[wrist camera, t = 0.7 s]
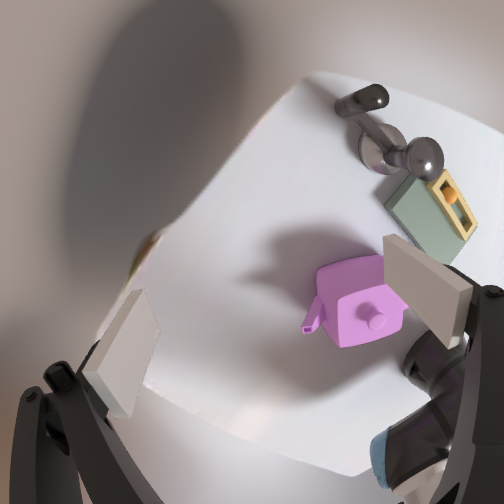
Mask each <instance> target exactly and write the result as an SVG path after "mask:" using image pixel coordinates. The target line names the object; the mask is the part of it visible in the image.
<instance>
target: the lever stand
mask: <svg viewBox="0 0 504 504" xmlns="http://www.w3.org/2000/svg"><path fill="white" fill-rule="evenodd" d="M384 207H385V208H386V210H387V211H388V212H389V213H390V214H391V215H392V217H393V218H394V219H395V220H396V221H397V222H398V224H399V225H400V226H401V227H402V228H403V230H404V231H405V232H406V233H407V235H408V236H409V237H410V238H411V240H412V241H413V242H414V243H415V245H416V246H417V247H418V249H420V250H421V251H423V252H424V253H426V254H427V255H429V256H431V257H432V258H434V259H435V260H437V261H438V262H440V263H441V264H446V265H450V264H451V262H452V261H453V260H454V258H455V257H456V256H457V254H458V253H459V252H460V250H461V249H462V248H463V246H464V245H465V244H466V242H467V241H468V240H469V238H470V237H471V235H472V234H473V232H474V231H475V230H476V228H477V224H478V223H477V221H476V219H475V217H474V215H473V213H472V211H471V210H470V208H469V206H468V204H467V202H466V201H465V199H464V197H463V195H462V194H461V192H460V190H459V189H458V187H457V185H456V184H455V182H454V180H453V179H452V177H451V176H450V174H449V173H448V171H447V170H446V169H443V170H442V173H441V174H440V176H439V177H438V178H437V179H436V180H434V181H431V182H426V181H422V180H418V179H416V178H414V177H413V176H412V175H411V174H410V175H409V176H408V177H407V178H406V180H405V181H404V182H403V183H402V185H401V186H400V187H399V188H398V190H397V191H396V192H395V193H394V194H393V196H392V197H391V198H390V199H389V200H388V202H387V203H386V204H385V205H384Z"/></svg>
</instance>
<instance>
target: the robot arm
mask: <svg viewBox="0 0 504 504" xmlns="http://www.w3.org/2000/svg"><path fill="white" fill-rule="evenodd" d="M383 252H384V282H385V283H386V284H387V285H388V286H389V287H390V288H391V289H392V290H393V291H394V292H395V293H396V294H397V295H398V296H399V297H400V298H401V299H402V300H403V301H404V302H405V303H406V304H407V305H408V306H409V307H410V308H411V309H412V310H413V312H414V313H415V314H416V315H417V316H418V317H419V318H420V319H421V320H422V321H423V322H424V323H425V324H426V325H427V326H428V327H429V329H430V330H429V331H428V332H427V333H425V334H424V335H423V336H422V337H421V338H420V339H419V340H418V341H417V342H416V343H415V344H414V346H413V347H412V348H411V350H410V351H409V353H408V355H407V357H406V360H405V363H404V373H405V375H406V377H407V378H408V380H409V381H410V382H411V383H412V384H414V385H415V386H417V387H418V388H420V389H421V390H423V391H424V392H426V393H427V394H428V395H429V396H430V397H431V399H432V400H431V401H429V402H428V403H426V404H425V405H424V406H422V407H421V408H419V409H418V410H416V411H415V412H413V413H412V414H410V415H409V416H407V417H405V418H404V419H402V420H401V421H399V422H397V423H396V424H394V425H392V426H389V427H388V428H387V429H386V430H385V431H383V432H382V433H380V434H378V435H377V436H375V437H374V438H373V440H372V442H371V445H370V458H371V463H372V467H373V470H374V474H375V476H376V477H377V481H378V483H379V485H380V486H381V487H382V488H383V489H390V488H391V490H392V492H393V494H395V495H399V496H403V497H404V498H405V500H406V503H407V504H504V290H503V289H502V288H500V287H498V286H494V285H486V286H483V287H482V286H480V285H479V284H477V283H476V282H475V281H473V280H472V279H470V278H469V277H467V276H465V274H463V273H462V272H461V273H460V271H459V270H457V269H456V268H454V267H452V266H449V265H446V264H441V263H440V262H438V261H437V260H435V259H434V258H432V257H431V256H429V255H427V254H426V253H424V252H423V251H421V250H420V249H418V248H417V247H415V246H413V245H412V244H410V243H409V242H407V241H405V240H404V239H402V238H401V237H399V236H397V235H396V234H392V235H387V236H383ZM464 331H465V332H466V333H467V334H468V335H469V340H468V343H466V340H465V338H464ZM160 332H161V329H160V327H159V324H158V322H157V320H156V317H155V315H154V313H153V310H152V308H151V305H150V303H149V301H148V298H147V295H146V293H145V290H144V289H140V290H135V291H132V292H131V293H130V295H129V296H128V298H127V299H126V301H125V302H124V304H123V305H122V307H121V308H120V310H119V311H118V313H117V314H116V316H115V317H114V319H113V321H112V322H111V324H110V325H109V327H108V329H107V330H106V332H105V333H104V335H103V337H102V338H101V340H98V341H97V342H96V343H95V344H94V345H93V346H92V347H91V349H90V350H89V352H88V355H87V356H86V357H85V360H84V361H83V362H82V364H81V365H80V367H79V369H78V370H77V372H76V374H75V373H74V372H73V370H72V368H71V367H70V365H69V364H68V363H67V362H66V361H59V362H56V363H54V364H52V365H51V366H49V368H48V369H46V371H45V373H44V375H43V378H44V380H45V381H46V382H47V384H48V385H49V387H50V388H51V390H52V391H53V393H49V394H44V392H43V391H42V390H41V388H40V387H38V386H35V387H31V388H28V389H27V390H25V391H24V393H23V395H22V396H21V398H20V403H19V407H18V413H17V418H16V424H15V430H14V438H13V446H12V455H11V467H10V491H9V492H10V493H9V494H10V497H9V498H10V500H9V501H10V504H83V501H82V495H81V489H80V483H79V476H78V472H79V474H80V476H81V479H82V481H83V484H84V486H85V488H86V490H87V492H88V495H89V497H90V499H91V501H92V503H93V504H164V503H163V501H162V500H161V499H160V498H159V496H158V495H157V494H156V492H155V491H154V490H153V488H152V487H151V486H150V484H149V483H148V481H147V480H146V479H145V477H144V476H143V475H142V473H141V471H140V470H139V468H138V467H137V465H136V464H135V462H134V461H133V459H132V458H131V456H130V455H129V453H128V451H127V450H126V448H125V446H124V445H123V443H122V442H121V440H120V438H119V436H118V435H117V433H116V431H115V429H114V428H113V426H112V424H111V422H110V421H109V419H108V418H107V417H106V415H107V413H108V410H109V411H110V412H111V413H112V415H113V416H114V417H115V418H116V419H130V418H131V416H132V412H133V409H134V407H135V403H136V400H137V397H138V394H139V391H140V388H141V385H142V382H143V379H144V376H145V373H146V371H147V368H148V365H149V362H150V359H151V356H152V353H153V351H154V348H155V345H156V342H157V340H158V337H159V334H160ZM47 435H48V436H47ZM398 504H404V502H401V503H398Z"/></svg>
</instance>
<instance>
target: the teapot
mask: <svg viewBox="0 0 504 504" xmlns="http://www.w3.org/2000/svg"><path fill="white" fill-rule="evenodd" d="M316 286H317V295H316V296H315V298H314V300H313V302H312V305H311V307H310V309H309V311H308V313H307V315H306V317H305V320H304V322H303V324H302V326H301V328H302V334H307V333H314V331H315V329H316V328H317V327H318V326H319V325H320V324H322V326H323V328H324V330H325V331H326V333H327V334H328V336H329V337H330V338H331V339H332V341H333V342H334V343H335V344H336V345H337V346H338V347H340V348H345V347H351V346H356V345H360V344H364V343H368V342H372V341H375V340H378V339H380V338H383V337H386V336H388V335H391V334H393V333H395V332H397V331H399V330H400V329H401V327H402V321H403V312H404V310H405V309H408V308H410V307H409V306H408V305H407V304H406V303H405V302H404V301H403V300H402V299H401V298H400V297H399V296H398V295H397V294H396V293H395V292H394V291H393V290H392V289H391V288H390V287H389V286H388V285H387V284H386V283H385V282H384V257H383V256H380V255H369V256H362V257H355V258H350V259H346V260H342V261H339V262H335V263H332V264H329V265H326V266H323V267H321V268H319V269H318V270H317V271H316Z"/></svg>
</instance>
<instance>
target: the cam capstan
mask: <svg viewBox="0 0 504 504" xmlns="http://www.w3.org/2000/svg"><path fill="white" fill-rule="evenodd" d="M388 103H389V94H388V92H387V90H386V89H385V88H384V87H383V86H382V85H379V84H372V85H370V86H367V87H365V88H363V89H361V90H358V91H356V92H354V93H352V94H349V95H347V96H345V97H343V98H341V99H339V100H337V101H336V103H335V106H334V108H335V111H336V113H337V114H338V115H339V116H341V117H349V116H351V117H352V118H353V119H354V120H355V121H356V122H357V124H358V125H359V126H360V127H361V128H362V129H363V130H364V132H363V133H362V135H361V137H360V140H359V154H360V157H361V160H362V162H363V163H364V164H365V166H366V167H367V168H368V169H370V170H371V171H373V172H375V173H379V174H384V175H392V174H395V173H397V172H398V171H400V170H401V169H402V168H404V169H408V170H409V172H410V174H411V175H412V176H413V177H414V178H416V179H418V180H422V181H426V182H431V181H434V180H436V179H437V178H438V177H439V176H440V174H441V173H442V170H443V167H444V155H443V152H442V149H441V147H440V145H439V144H438V143H437V142H436V141H435V140H434V139H432V138H429V137H417V138H415V139H413V140H412V141H411V142H410V143H409V144H408V145H407V143H406V140H405V138H404V136H403V135H402V133H401V132H400V131H399V130H398V129H397V128H395V127H394V126H392V125H389V124H378V125H377V124H376V123H375V122H374V121H373V120H372V119H371V118H370V117H369V116H368V115H367V114H366V113H365V112H368V111H372V110H376V109H380V108H384V107H386V106H387V105H388Z"/></svg>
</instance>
